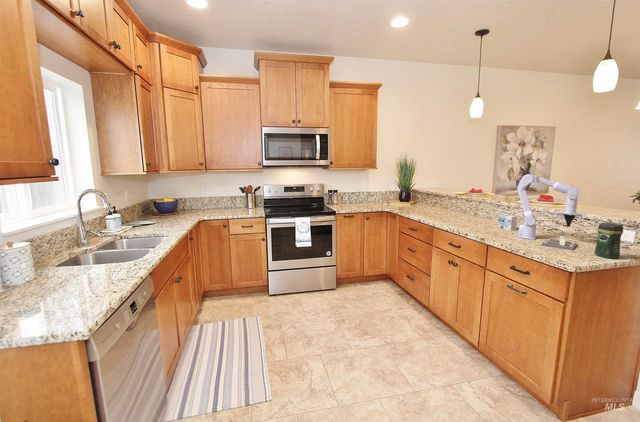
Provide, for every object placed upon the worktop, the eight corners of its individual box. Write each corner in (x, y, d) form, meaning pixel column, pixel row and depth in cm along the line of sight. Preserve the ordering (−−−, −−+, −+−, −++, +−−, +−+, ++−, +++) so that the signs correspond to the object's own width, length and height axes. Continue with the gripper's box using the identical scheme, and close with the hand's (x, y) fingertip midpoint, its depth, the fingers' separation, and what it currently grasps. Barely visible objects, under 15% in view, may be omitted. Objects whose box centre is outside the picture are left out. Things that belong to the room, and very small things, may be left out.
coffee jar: (622, 259, 157) (628, 225, 154) (609, 259, 156) (615, 225, 153) (603, 253, 166) (607, 221, 163) (591, 254, 165) (595, 222, 162)
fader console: (541, 245, 184) (541, 242, 184) (547, 240, 196) (547, 237, 196) (572, 250, 173) (573, 247, 173) (576, 244, 186) (577, 241, 185)
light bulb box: (497, 228, 237) (498, 214, 235) (502, 227, 239) (504, 214, 238) (510, 230, 227) (512, 216, 225) (516, 229, 230) (517, 216, 228)
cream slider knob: (559, 242, 187) (559, 236, 186) (560, 241, 189) (560, 235, 188) (564, 242, 185) (564, 237, 184) (564, 242, 187) (565, 236, 186)
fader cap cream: (559, 244, 180) (560, 239, 180) (560, 243, 182) (560, 238, 182) (564, 245, 179) (565, 239, 178) (565, 244, 181) (565, 239, 180)
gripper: (555, 205, 191) (553, 225, 193) (585, 207, 181) (582, 229, 183) (557, 204, 196) (555, 224, 198) (586, 206, 185) (583, 227, 187)
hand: (568, 226), depth 191 cm, fingers closed
